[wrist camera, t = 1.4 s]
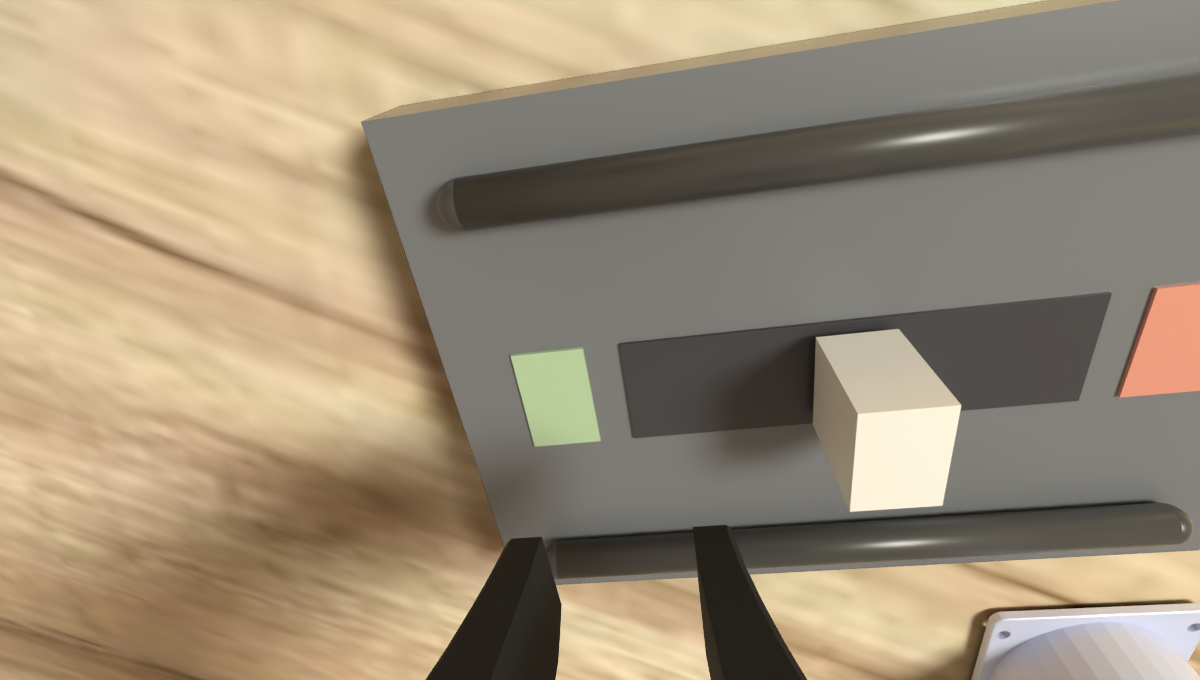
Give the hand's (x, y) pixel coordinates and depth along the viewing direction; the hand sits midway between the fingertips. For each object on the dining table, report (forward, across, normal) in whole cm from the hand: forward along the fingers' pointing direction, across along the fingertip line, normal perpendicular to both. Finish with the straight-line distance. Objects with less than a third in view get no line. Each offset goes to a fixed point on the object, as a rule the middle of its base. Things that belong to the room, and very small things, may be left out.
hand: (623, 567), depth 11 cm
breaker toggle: (+5, -6, 0) cm, 8 cm away
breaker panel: (+8, -6, 0) cm, 10 cm away
